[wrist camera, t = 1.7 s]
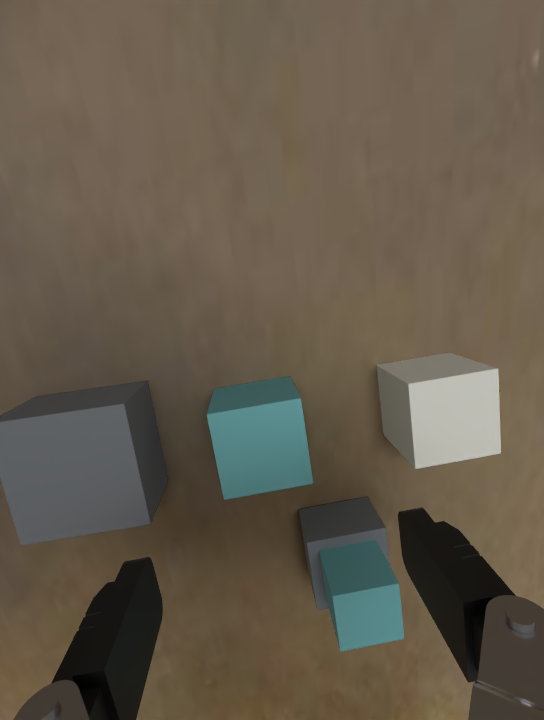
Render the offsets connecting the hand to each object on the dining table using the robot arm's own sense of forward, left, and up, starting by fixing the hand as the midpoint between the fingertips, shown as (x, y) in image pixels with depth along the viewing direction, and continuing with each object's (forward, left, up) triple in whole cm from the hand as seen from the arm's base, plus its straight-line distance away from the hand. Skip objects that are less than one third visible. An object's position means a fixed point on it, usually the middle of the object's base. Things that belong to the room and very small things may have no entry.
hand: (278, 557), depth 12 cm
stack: (+9, -6, -13) cm, 17 cm away
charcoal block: (-9, -6, -13) cm, 17 cm away
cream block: (+9, +6, -13) cm, 17 cm away
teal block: (0, 0, -13) cm, 13 cm away
